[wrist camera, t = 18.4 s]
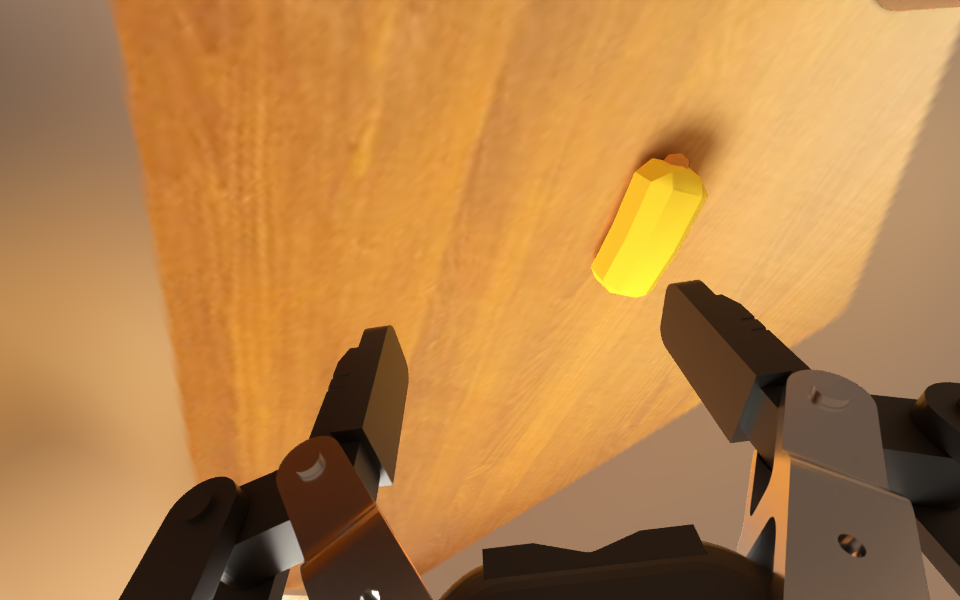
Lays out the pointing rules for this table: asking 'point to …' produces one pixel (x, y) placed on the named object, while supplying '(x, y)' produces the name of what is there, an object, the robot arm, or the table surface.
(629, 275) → the yellow banana
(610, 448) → the table surface
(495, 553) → the robot arm
